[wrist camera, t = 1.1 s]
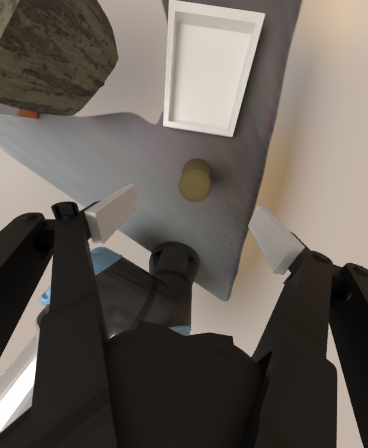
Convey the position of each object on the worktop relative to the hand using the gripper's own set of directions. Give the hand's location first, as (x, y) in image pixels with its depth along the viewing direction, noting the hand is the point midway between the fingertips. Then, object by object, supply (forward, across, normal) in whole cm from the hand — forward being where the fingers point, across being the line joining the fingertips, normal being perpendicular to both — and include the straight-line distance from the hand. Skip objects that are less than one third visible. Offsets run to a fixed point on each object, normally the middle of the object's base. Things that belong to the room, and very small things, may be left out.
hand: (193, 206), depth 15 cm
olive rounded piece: (+18, 0, 0) cm, 18 cm away
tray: (+18, +1, -14) cm, 23 cm away
